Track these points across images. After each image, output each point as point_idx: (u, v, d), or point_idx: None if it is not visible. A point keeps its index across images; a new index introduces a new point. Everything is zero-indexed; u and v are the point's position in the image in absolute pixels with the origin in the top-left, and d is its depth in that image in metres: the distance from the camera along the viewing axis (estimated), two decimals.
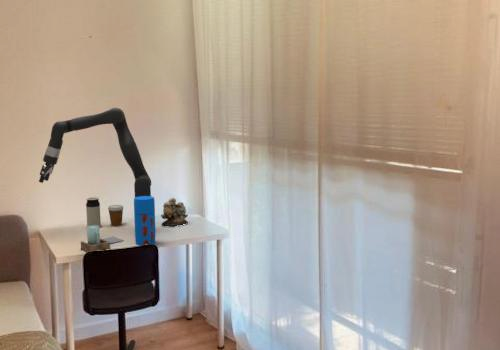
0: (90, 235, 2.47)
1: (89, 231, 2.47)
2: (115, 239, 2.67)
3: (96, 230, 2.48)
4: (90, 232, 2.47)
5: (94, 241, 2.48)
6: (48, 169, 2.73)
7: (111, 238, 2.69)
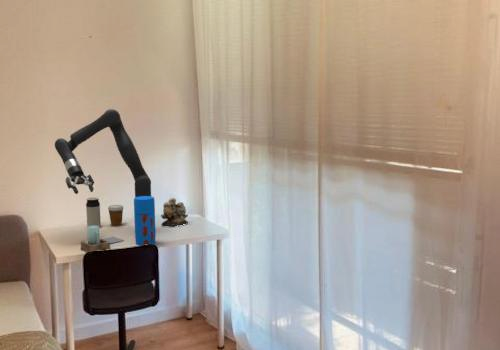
0: (90, 235, 2.47)
1: (89, 231, 2.47)
2: (115, 239, 2.67)
3: (96, 230, 2.48)
4: (90, 232, 2.47)
5: (94, 241, 2.48)
6: (75, 179, 2.58)
7: (111, 238, 2.69)
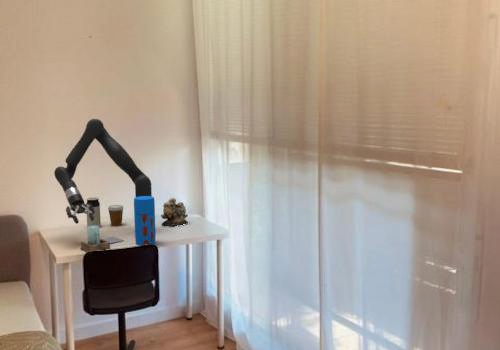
0: (90, 235, 2.47)
1: (89, 231, 2.47)
2: (115, 239, 2.67)
3: (96, 230, 2.48)
4: (90, 232, 2.47)
5: (94, 241, 2.48)
6: (75, 208, 2.55)
7: (111, 238, 2.69)
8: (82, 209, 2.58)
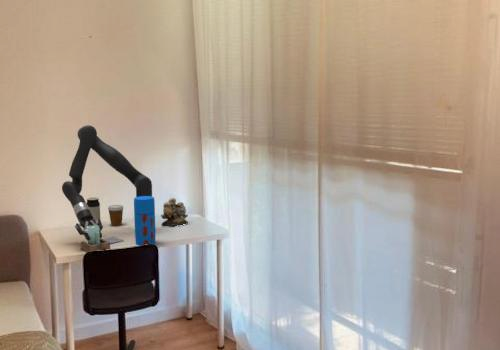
0: (90, 235, 2.47)
1: (89, 231, 2.47)
2: (115, 239, 2.67)
3: (96, 230, 2.48)
4: (90, 232, 2.47)
5: (94, 241, 2.48)
6: (85, 224, 2.50)
7: (111, 238, 2.69)
8: None
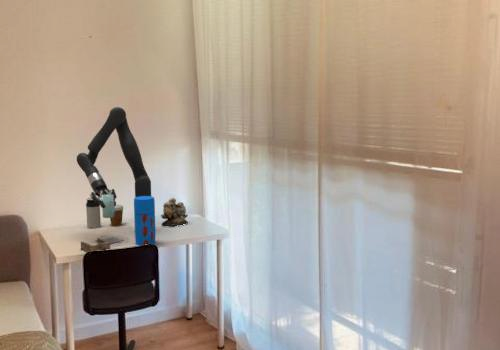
0: (105, 203, 2.58)
1: (104, 199, 2.58)
2: (115, 239, 2.67)
3: (111, 198, 2.59)
4: (105, 200, 2.58)
5: (109, 209, 2.59)
6: (99, 193, 2.61)
7: (111, 238, 2.69)
8: None
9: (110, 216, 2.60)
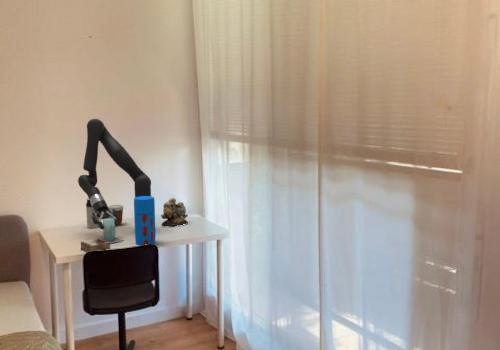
0: (106, 227, 2.61)
1: (105, 223, 2.61)
2: (115, 239, 2.67)
3: (112, 222, 2.62)
4: (106, 224, 2.61)
5: (110, 233, 2.62)
6: (100, 214, 2.64)
7: None
8: (107, 215, 2.66)
9: (111, 240, 2.63)
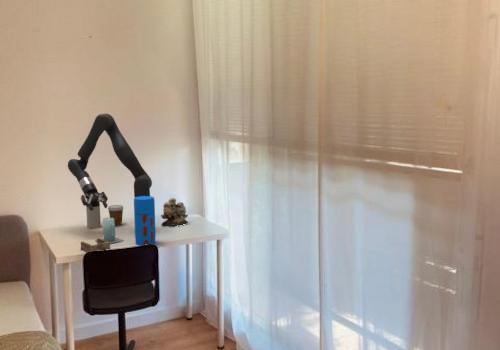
0: (106, 227, 2.61)
1: (105, 223, 2.61)
2: (115, 239, 2.67)
3: (111, 222, 2.62)
4: (106, 224, 2.61)
5: (110, 233, 2.62)
6: (89, 196, 2.72)
7: None
8: (96, 197, 2.74)
9: (111, 240, 2.63)
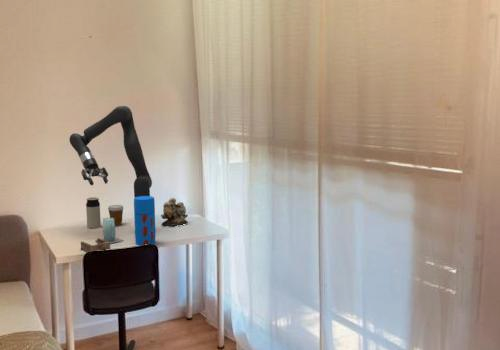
0: (106, 227, 2.61)
1: (105, 223, 2.61)
2: (115, 239, 2.67)
3: (111, 222, 2.62)
4: (106, 224, 2.61)
5: (110, 233, 2.62)
6: (90, 171, 2.71)
7: None
8: (96, 172, 2.73)
9: (111, 240, 2.63)
